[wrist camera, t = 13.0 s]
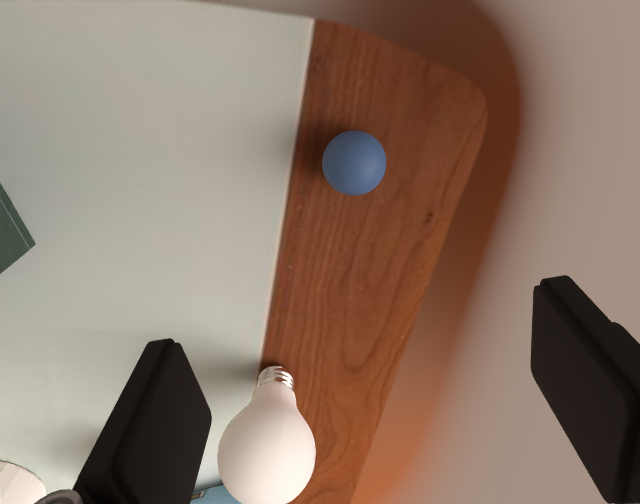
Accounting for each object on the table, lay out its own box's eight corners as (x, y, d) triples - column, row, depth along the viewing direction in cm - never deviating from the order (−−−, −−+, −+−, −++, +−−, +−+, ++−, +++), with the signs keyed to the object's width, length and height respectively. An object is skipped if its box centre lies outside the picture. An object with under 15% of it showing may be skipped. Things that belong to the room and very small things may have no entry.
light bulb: (252, 331, 35) (224, 454, 25) (329, 356, 36) (331, 483, 26) (227, 387, 38) (194, 517, 28) (300, 409, 39) (292, 540, 29)
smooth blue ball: (344, 111, 27) (346, 126, 23) (394, 145, 28) (404, 163, 24) (310, 162, 28) (309, 183, 25) (359, 193, 29) (364, 216, 26)
